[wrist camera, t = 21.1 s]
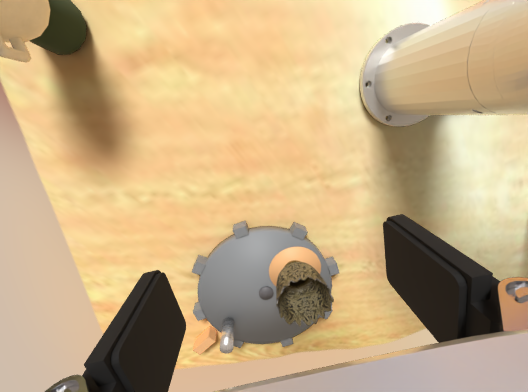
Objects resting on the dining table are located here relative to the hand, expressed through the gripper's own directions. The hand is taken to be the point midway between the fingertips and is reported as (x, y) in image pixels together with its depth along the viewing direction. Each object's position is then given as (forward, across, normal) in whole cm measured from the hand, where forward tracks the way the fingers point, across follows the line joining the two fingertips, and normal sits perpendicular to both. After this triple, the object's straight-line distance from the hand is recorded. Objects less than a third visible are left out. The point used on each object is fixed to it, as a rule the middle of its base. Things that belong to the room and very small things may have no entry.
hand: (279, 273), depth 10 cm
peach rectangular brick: (+27, +16, +29) cm, 43 cm away
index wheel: (+27, +4, +21) cm, 35 cm away
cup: (+25, -2, +18) cm, 31 cm away
